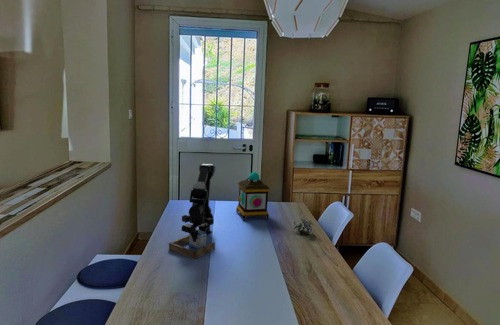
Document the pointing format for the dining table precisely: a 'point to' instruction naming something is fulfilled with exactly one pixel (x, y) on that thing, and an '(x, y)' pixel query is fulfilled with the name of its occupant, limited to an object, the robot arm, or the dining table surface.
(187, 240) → the frame
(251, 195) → the decorative lantern
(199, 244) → the medicine box
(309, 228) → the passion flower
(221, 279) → the dining table surface
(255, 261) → the dining table surface
